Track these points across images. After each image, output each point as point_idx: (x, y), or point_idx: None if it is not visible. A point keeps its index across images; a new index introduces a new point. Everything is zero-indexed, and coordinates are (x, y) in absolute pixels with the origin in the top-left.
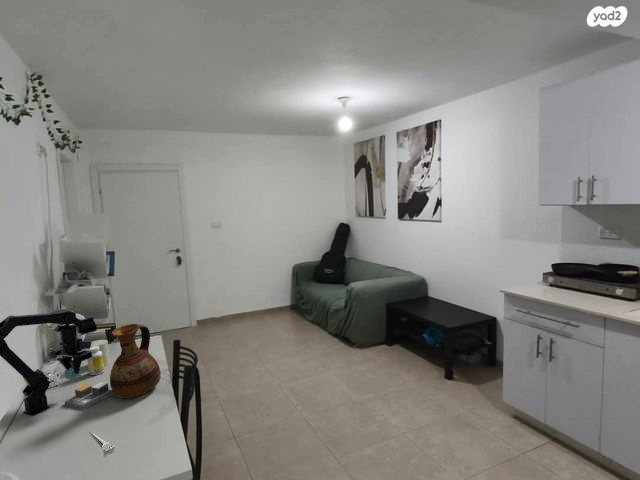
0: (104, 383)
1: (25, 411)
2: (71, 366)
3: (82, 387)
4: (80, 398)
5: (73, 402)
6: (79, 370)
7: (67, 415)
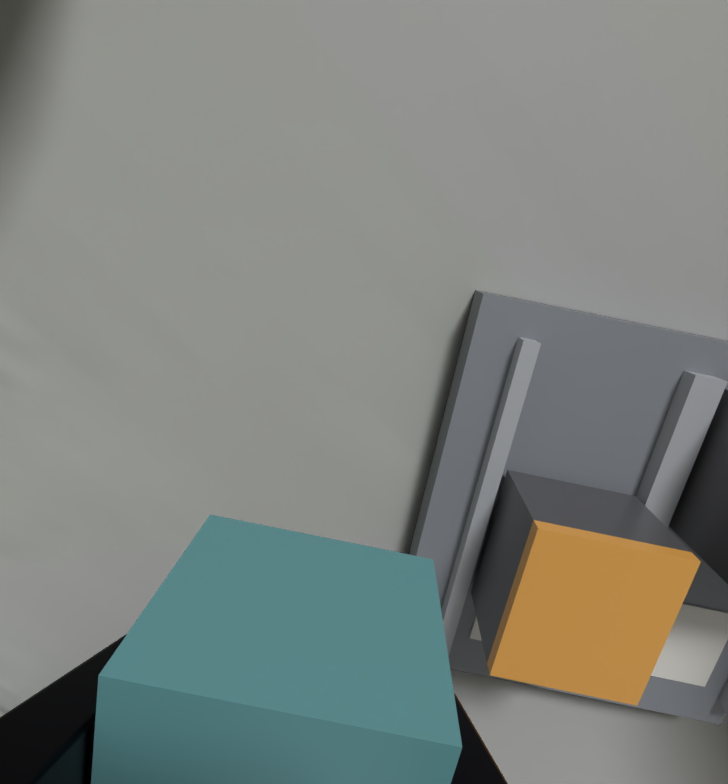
0: None
1: None
2: (50, 774)
3: (580, 623)
4: None
5: None
6: (447, 694)
7: (589, 778)
